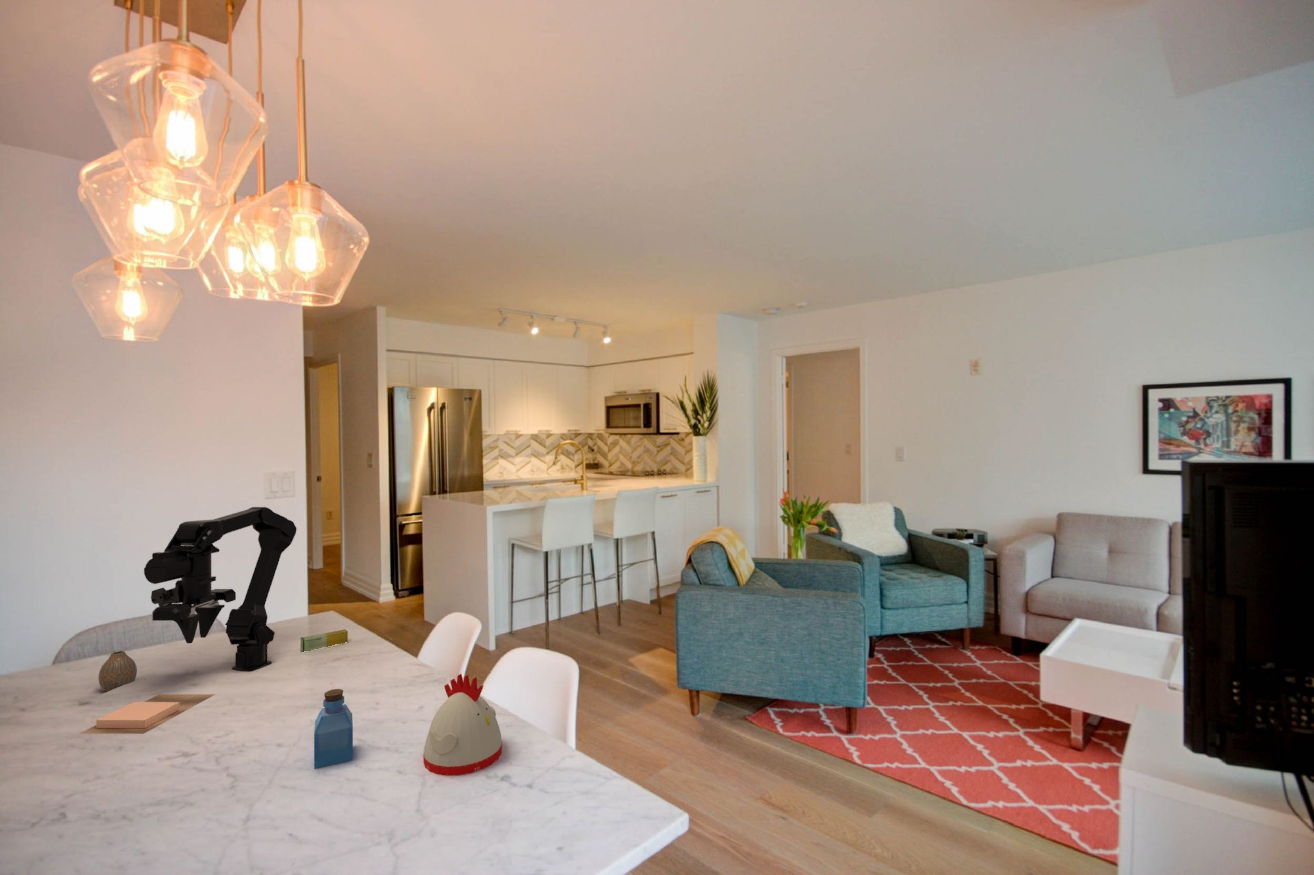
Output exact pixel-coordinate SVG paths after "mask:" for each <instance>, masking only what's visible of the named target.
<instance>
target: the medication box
mask: <svg viewBox="0 0 1314 875" xmlns="http://www.w3.org/2000/svg"><path fill="white" fill-rule="evenodd" d="M348 634H349V630H347V629H341V630H340V629H339V630H334V631H328V632H324V633H323V632H322V633H318V634H313V635H307V636H302V637H300V644H299V645H300V649H299V651H300V653H302V652H304V651H309V652H312V651H311V650H314V649H319V648H322V647H328V646H332V645H335V644H341V643H345V642H348V643H349V641H348V638H349V635H348ZM328 648H329V647H328ZM319 650H320V649H319ZM314 651H315V650H314Z"/></svg>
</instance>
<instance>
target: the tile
mask: <svg viewBox="0 0 1314 875" xmlns="http://www.w3.org/2000/svg"><path fill="white" fill-rule="evenodd" d="M178 710H179V702H145V701H133V702H131V703H130V704H127V705H124V706H123V707H120V708H118V709H117V710H116V709H115V711H112V712H110V713H108V714H106V715H104V716H102V717H99V718H98V719H96V722H95V723H96V724H95V725H96V728H146V727H148V726H150V725H152V724H154V723H156V722H158V721H159V720H161V719H163V718H165V717H167V716H169V715H171V714H172V713H174V712H176V711H178Z"/></svg>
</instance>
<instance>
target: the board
mask: <svg viewBox="0 0 1314 875" xmlns="http://www.w3.org/2000/svg"><path fill="white" fill-rule="evenodd" d="M215 695H216V694H214V693H213V694H211V693H210V694H209V693H208V694H207V693H206V694H205V693H202V694H201V693H200V694H199V693H197V694H196V693H194V694H193V693H192V694H190V693H185V694H183V693H181V694H180V693H177V694H175V693H173V694H172V693H170V694H169V693H167V694H165V693H161V694H160V693H159V694H157V695H154V696H153V697H151V698H149V699H146V700H144V702H179V710H178V711H176V712H174V713H172V714H171V715H169V716H167V717H165V718H163V719H161V720H159V721H158V722H156V723H154V724H152V725H150V726H148V727H146V728H96V724H95V725H93V726H91V727H89V728H88V729H86V730H83V731H81V732H80V734H105V735H106V734H107V735H108V734H112V735H113V734H116V735H117V734H119V735H121V734H122V735H123V734H124V735H125V734H131V735H132V734H133V735H134V734H135V735H136V734H138V735H140V734H141V735H142V734H147V733H148V732H149V731H151V730H153V729H155V728H157V727H159V726H160V725H162V724H165V723H166V722H168V721H169V720H172V719H173V718H175V717H178V716H179V715H181V714H183V713H184V712H186V711H188V710H189V709H191V708H194V707H195V706H197V705H199V704H201V703H202V702H204V701H206V700H207V699H210V698H212V697H213V696H215Z"/></svg>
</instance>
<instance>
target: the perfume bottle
mask: <svg viewBox="0 0 1314 875" xmlns="http://www.w3.org/2000/svg"><path fill="white" fill-rule="evenodd" d="M343 693H344V690H343V689H341V688H334V689H330V690H327V691H326V692H324V693H323V697H324V699H323V702H322V706H323V708H321V709H320V711H319V713H318V715H317V717H316V719H315V723H314V730H313V731H314V732H313V733H314V734H313V745H314V746H313V756H314V757H313V760H314V761H313V769H314V770H317V769H321V768H326V767H330V766H335V765H340V764H345V763H349V762H354V761H353V760H354V738H353V736H354V735H353V734H354V731H353V730H354V729H353V728H354V727H353V726H354V725H353V724H354V723H353V721H354V720H353V712H352V711H351V710H350V708H349V707H348V705H347V704H346V703H345V696H344V695H343ZM344 703H345V704H344Z"/></svg>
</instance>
